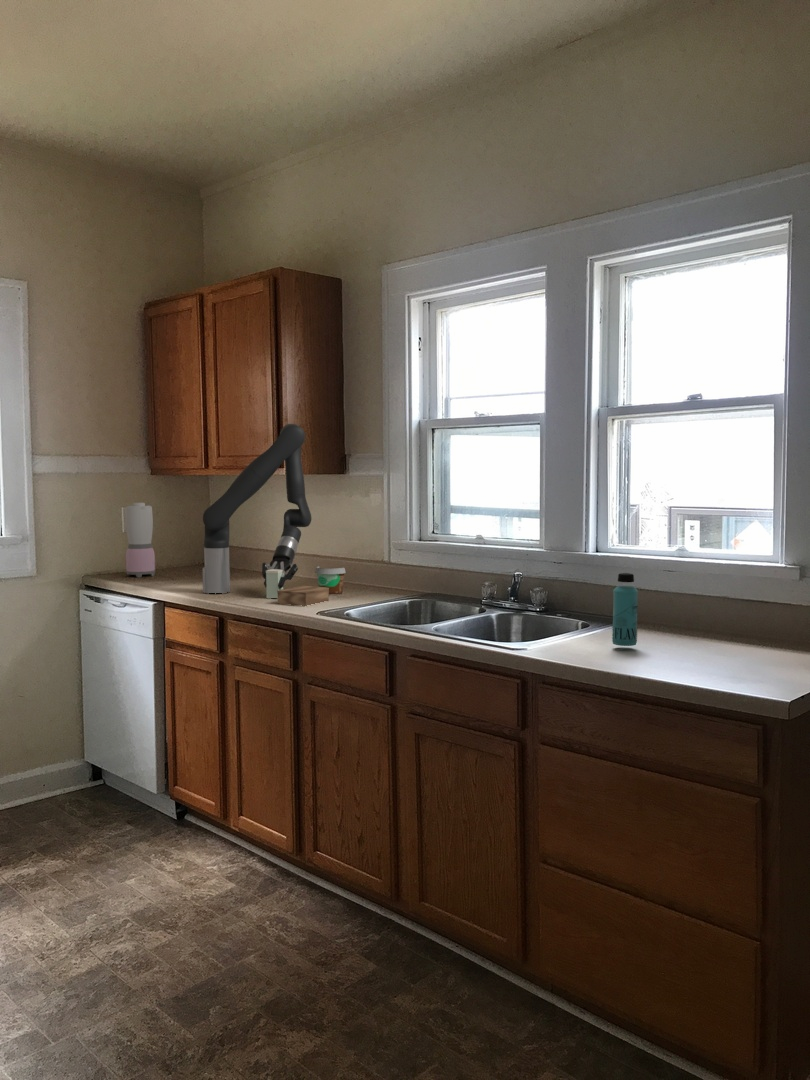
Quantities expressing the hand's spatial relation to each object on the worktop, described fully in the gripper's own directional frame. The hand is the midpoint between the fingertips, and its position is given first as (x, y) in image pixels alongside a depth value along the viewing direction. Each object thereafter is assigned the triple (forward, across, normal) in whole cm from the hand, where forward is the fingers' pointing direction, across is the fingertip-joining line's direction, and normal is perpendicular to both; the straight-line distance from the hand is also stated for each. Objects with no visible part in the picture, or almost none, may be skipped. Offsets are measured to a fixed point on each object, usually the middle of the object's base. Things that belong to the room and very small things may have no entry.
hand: (272, 587), depth 321 cm
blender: (-31, -86, +37) cm, 99 cm away
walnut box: (+7, +14, 0) cm, 16 cm away
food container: (-8, +15, +14) cm, 22 cm away
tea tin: (+2, 0, +4) cm, 5 cm away
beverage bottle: (+43, +126, -38) cm, 139 cm away
